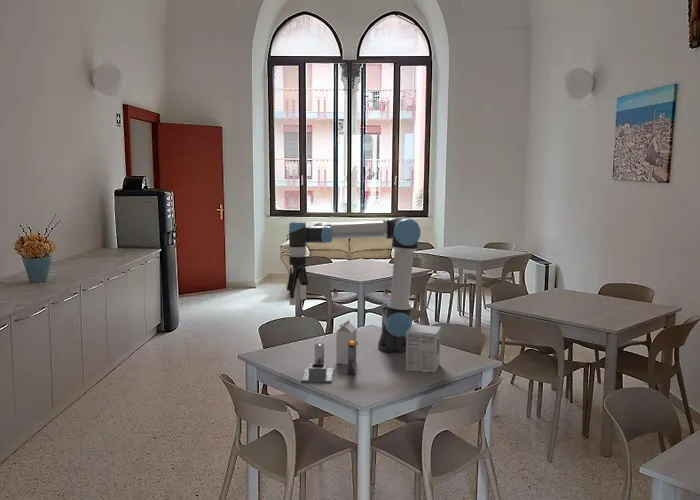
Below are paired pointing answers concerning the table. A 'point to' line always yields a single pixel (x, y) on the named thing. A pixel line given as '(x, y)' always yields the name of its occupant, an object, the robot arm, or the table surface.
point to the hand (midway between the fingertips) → (298, 301)
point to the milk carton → (344, 341)
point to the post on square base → (318, 368)
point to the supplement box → (423, 348)
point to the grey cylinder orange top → (352, 357)
